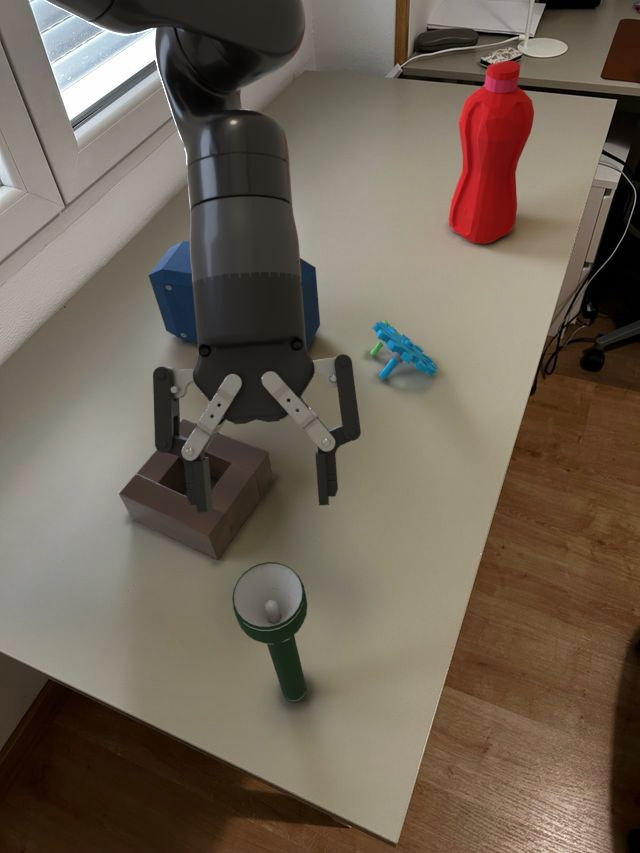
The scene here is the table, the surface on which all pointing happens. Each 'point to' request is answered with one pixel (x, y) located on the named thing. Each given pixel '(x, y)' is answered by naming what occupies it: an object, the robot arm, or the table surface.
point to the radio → (178, 299)
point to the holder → (231, 496)
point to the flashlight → (274, 619)
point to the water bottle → (491, 155)
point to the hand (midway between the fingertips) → (264, 506)
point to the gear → (400, 350)
